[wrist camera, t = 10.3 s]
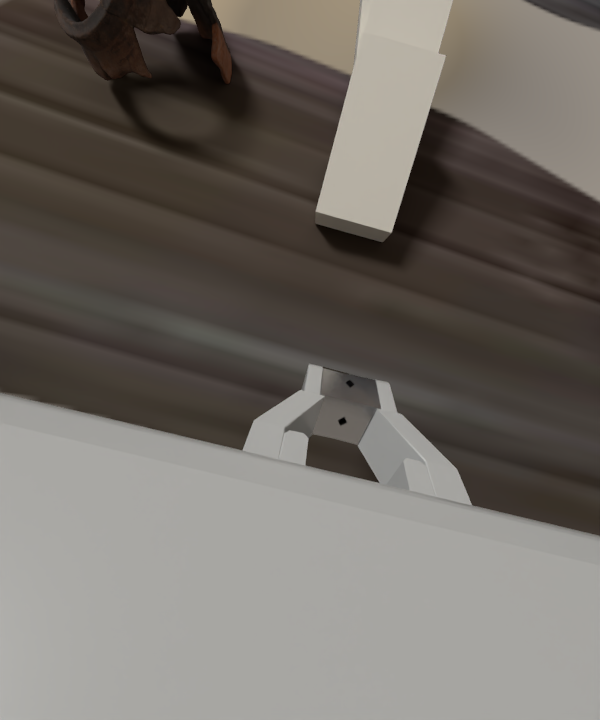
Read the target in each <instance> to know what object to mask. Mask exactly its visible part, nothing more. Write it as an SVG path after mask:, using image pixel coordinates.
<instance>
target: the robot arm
mask: <svg viewBox="0 0 600 720" xmlns="http://www.w3.org/2000/svg"><path fill="white" fill-rule="evenodd" d="M312 434H315V435H319V436H324V437H329V438H334V439H338V440H341V441H345V442H349V443H353V444H356V445H358V447H359V449H360V450H361V452H362V454H363V455H364V457H365V459H366V461H367V462H368V464H369V466H370V467H371V469H372V471H373V472H374V474H375V476H376V477H377V479H378V481H379V483H376V482H372V481H368V480H364V479H360V478H356V477H351V476H347V475H343V474H339V473H335V472H330V471H326V470H322V469H318V468H314V467H309V466H305V463H306V454H307V445H308V439H309V438H310V436H311V435H312ZM0 720H600V536H598V535H594V534H590V533H586V532H582V531H577V530H573V529H569V528H565V527H561V526H556V525H552V524H548V523H544V522H540V521H535V520H531V519H527V518H523V517H519V516H514V515H510V514H506V513H502V512H497V511H493V510H489V509H485V508H481V507H477V506H472V504H471V502H470V499H469V497H468V494H467V492H466V490H465V487H464V485H463V483H462V480H461V478H460V475H459V473H458V471H457V469H456V468H455V467H454V466H453V465H452V464H451V463H450V462H449V461H448V460H447V459H446V458H445V457H444V456H443V455H442V454H441V453H440V452H439V451H438V450H437V449H436V448H435V447H434V446H433V445H432V444H431V443H430V442H429V441H428V440H427V439H426V438H425V437H424V436H423V435H422V434H421V433H420V432H419V431H418V430H417V429H416V428H415V427H414V426H413V425H412V424H411V423H410V422H409V421H408V420H407V419H406V418H405V417H404V416H403V415H402V414H398V413H397V410H396V406H395V402H394V399H393V395H392V391H391V388H390V384H389V383H388V382H384V381H379V380H373V379H369V378H364V377H360V376H355V375H351V374H348V373H344V372H340V371H337V370H333V369H329V368H325V367H322V366H317V365H313V364H309V366H308V369H307V372H306V376H305V380H304V384H303V387H302V390H300V391H298V392H296V393H295V394H293V395H292V396H290V397H289V398H287V399H286V400H284V401H283V402H281V403H280V404H278V405H277V406H275V407H274V408H272V409H270V410H269V411H267V412H266V413H264V414H263V415H261V416H260V417H258V418H257V419H255V420H254V422H253V424H252V427H251V430H250V432H249V435H248V437H247V440H246V443H245V445H244V448H243V450H238V449H234V448H230V447H226V446H221V445H217V444H213V443H209V442H205V441H200V440H196V439H192V438H188V437H184V436H179V435H175V434H171V433H167V432H163V431H159V430H154V429H150V428H146V427H142V426H138V425H133V424H129V423H125V422H121V421H117V420H113V419H108V418H104V417H100V416H96V415H92V414H87V413H83V412H79V411H75V410H71V409H67V408H62V407H58V406H54V405H50V404H46V403H42V402H37V401H33V400H29V399H25V398H21V397H16V396H12V395H8V394H4V393H0Z"/></svg>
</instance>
